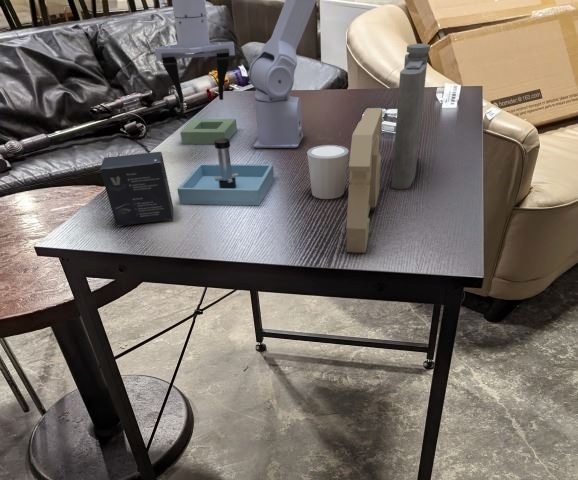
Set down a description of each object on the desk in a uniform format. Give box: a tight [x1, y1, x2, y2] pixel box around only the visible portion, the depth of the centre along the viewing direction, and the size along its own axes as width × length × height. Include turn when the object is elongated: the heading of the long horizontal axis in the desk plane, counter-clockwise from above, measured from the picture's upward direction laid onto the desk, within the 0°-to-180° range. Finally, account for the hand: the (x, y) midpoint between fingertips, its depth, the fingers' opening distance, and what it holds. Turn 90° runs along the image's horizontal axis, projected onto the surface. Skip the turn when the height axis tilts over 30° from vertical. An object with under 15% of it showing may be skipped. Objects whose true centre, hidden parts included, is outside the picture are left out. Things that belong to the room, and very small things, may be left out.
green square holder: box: [180, 118, 238, 145], centre depth 118 cm, size 10×10×2 cm
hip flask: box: [391, 43, 431, 190], centre depth 90 cm, size 16×4×20 cm, turn 167°
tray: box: [176, 163, 275, 206], centre depth 94 cm, size 14×12×3 cm
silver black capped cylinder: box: [213, 138, 239, 189], centre depth 91 cm, size 4×4×8 cm
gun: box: [346, 107, 383, 254], centre depth 78 cm, size 24×3×15 cm, turn 168°
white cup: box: [306, 144, 350, 200], centre depth 89 cm, size 7×7×7 cm
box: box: [99, 151, 174, 228], centre depth 84 cm, size 9×6×10 cm, turn 99°
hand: (201, 100), depth 103 cm, fingers open, 7 cm apart
